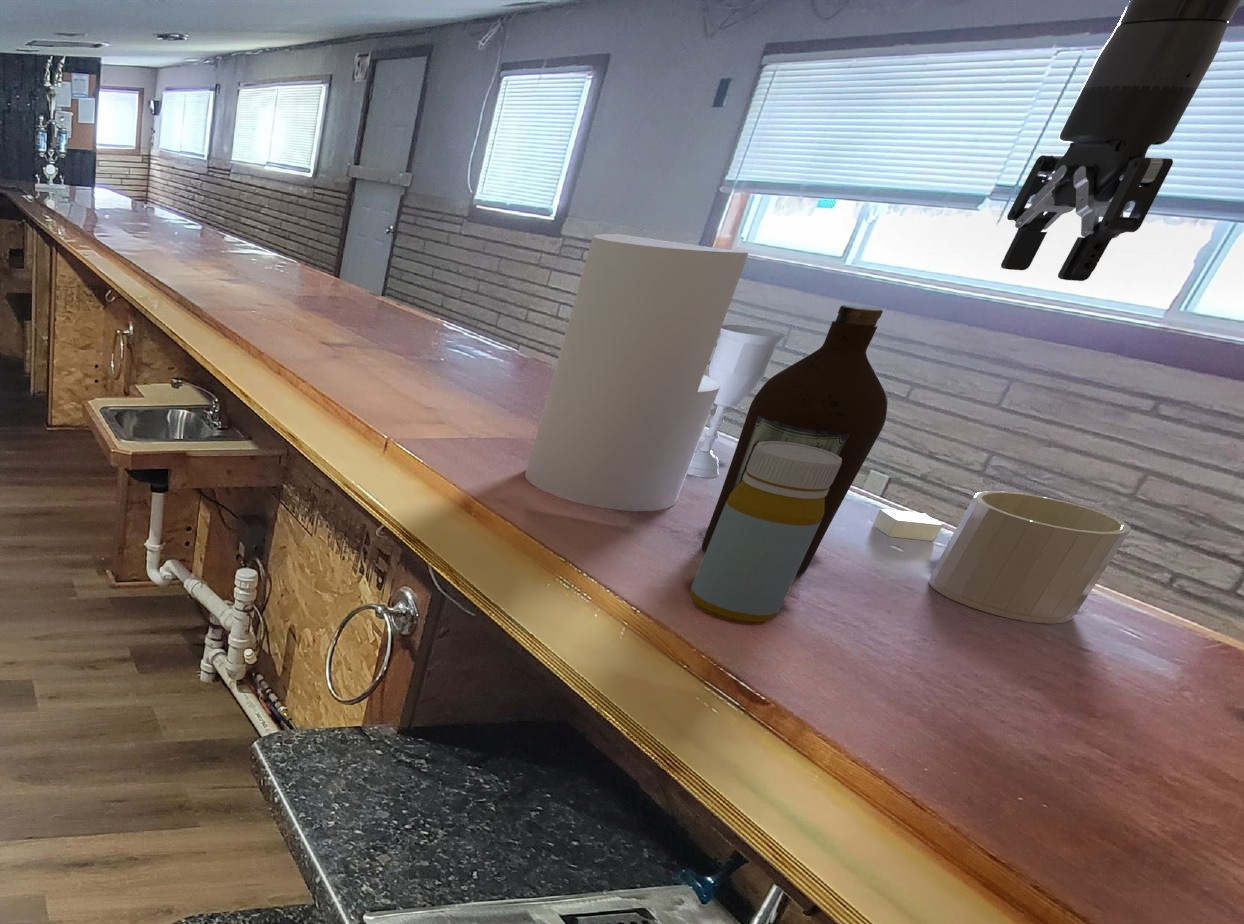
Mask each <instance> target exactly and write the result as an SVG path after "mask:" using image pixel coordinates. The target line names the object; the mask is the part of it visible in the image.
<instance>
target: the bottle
mask: <svg viewBox="0 0 1244 924" xmlns="http://www.w3.org/2000/svg"><path fill="white" fill-rule="evenodd" d="M841 461H842V458H841V457H839V456H838V455H836V454H834V453H832V452H829V451H826V450H823V449H819V448H816V447H812V446H807V445H802V444H796V443H789V442H779V441H765V442H760V443H758V444H757V445H756V446H755V448H754V450H753V453H752V455H751V457H750V460H749V462H748V465H747V470H746V471H745V473H744V475H743V480H742V481H741V482H740V483H739V485H738V486H737V487H736V488H735V489H734V490H733V491H732V492H731V493H730V495H729V497H728V500H727V501H726V504H725V506H724V509H723V511H722V513H721V516H720V518H719V521H718V523H717V526H716V528H715V531H714V533H713V535H712V538H711V540H710V543H709V545H708V548H707V550H706V553H704V555H703V558H702V560H701V562H700V565H699V568H698V570H697V571H696V575H695V577H694V580H693V582H692V585H691V589H690V590H689V593H688V594H689V597H690V600H691V601H692V604H693V605H694V606H695V607H696V608H697V609H698V610H699V611H701V612H703V613H704V614H706V615H709V616H711V617H714V618H716V619H719V620H722V621H725V622H728V623H735V624H737V625H747V626H748V625H749V626H755V625H762V624H765V623H767V622H770V621H772V620H774V619H775V618H776V617H777V616H778V614H779V611H780V610H781V608H782V606H783V604H784V601H785V600H786V597H787V595H788V593H789V592H790V589H791V586H792V585H793V582H794V580H795V578H796V577H797V576H796V574H797V572H798V569H799V567H800V565H801V563H802V561H803V559H804V557H805V555H806V552H807V550H808V548H809V546H810V544H811V542H812V540H813V538H814V535H815V533H816V531H817V529H818V527H819V525H820V523H821V520H822V517H823V515H824V504H825V496H826V495H827V493H828V491H829V487H830V485H831V484H832V483H833V481H834V479H835V477H836V474H837V472H838V470H839V468H840V466H841V464H842V462H841Z"/></svg>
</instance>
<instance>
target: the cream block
mask: <svg viewBox="0 0 1244 924" xmlns="http://www.w3.org/2000/svg"><path fill="white" fill-rule="evenodd" d="M872 526H873V527H874V528H875V529H877V530H879V531H880V532H882V533H883V534H884V535H886V536H888V537H889V538H899V539H908V540H918V541H928V542H935V541H936V539H937V537H938V535H939V533H940V532H941V530H942V528H943V526H944V524H942V523H941V522H939V521H938V520H936V519H934V518H932V517H931V516H930V515H928V514H926V513H924V512H923V513H922V512H912V511H905V510H904V511H903V510H892V509H885V508H884V509H883V508H880V509H879V511H878V513H877V515H876V517H875V518H874V521H873V522H872Z"/></svg>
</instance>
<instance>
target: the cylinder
mask: <svg viewBox="0 0 1244 924" xmlns="http://www.w3.org/2000/svg"><path fill="white" fill-rule="evenodd" d="M748 256H749V252H747V251H739V250H734V249H726V248H719V247H712V246H704V245H699V244H698V245H697V244H692V243H684V242H679V241H670V240H664V239H657V238H649V237H642V236H636V235H629V234H622V233H602V234H601V233H600V234H594V235H593V236H592V239H591V242H590V245H589V248H588V253H587V257H586V260H585V263H584V267H583V270H582V274H581V277H580V281H579V284H578V287H577V291H576V294H575V298H574V302H573V305H572V308H571V311H570V315H569V318H568V322H567V325H566V329H565V333H564V335H563V340H562V343H561V347H560V350H559V353H558V357H557V360H556V363H555V367H554V368H555V369H554V371H553V375H552V377H551V381H550V385H549V388H548V391H547V395H546V398H545V402H544V406H543V410H542V413H541V415H540V420H539V423H538V426H537V430H536V434H535V438H534V440H533V444H532V448H531V451H530V454H529V458H528V462H527V465H526V469H525V471H524V474H525V479H526V480H527V481H528V482H529V483H530V485H533V486H534V487H536V488H537V489H539V490H540V491H542V492H545V493H547V492H550V493H551V494H550V493H549V494H550V495H552V494H553V495H552V496H554V495H556V496H555V497H557V496H559V497H558V498H561V499H563V498H564V500H567V501H571V502H574V503H577V504H582V505H586V506H591V507H594V508H601V509H607V510H615V511H624V512H625V511H626V512H627V511H628V512H655V511H660V510H661V511H662V510H667V509H669V508H671V507H673V506H675V505H676V503H677V501H678V498H679V497H680V496H679V495H680V493H681V490H682V488H683V485H684V483H685V479H686V477H687V475H688V474H687V472H688V469H689V467H690V464H691V461H692V459H693V456H694V454H695V451H697V448H698V445H699V443H700V440H701V437H702V435H703V432H704V430H705V427H706V425H707V422H708V419H709V417H710V414H711V411H712V409H713V407H714V404H715V403H714V401H715V398H716V396H717V393H718V390H719V388H720V384H719V383H718V382H717V381H716V380H714V379H712V378H710V377H709V375H705V372H706V370H707V367H708V365H709V363H710V359H711V357H712V355H713V351H714V348H715V345H716V342H717V340H718V338H719V336H720V335H719V334H720V329H721V327H722V325H724V321H725V318H726V315H727V313H728V311H729V307H730V305H731V302H732V300H733V297H734V294H735V291H736V289H737V287H738V283H739V280H740V277H741V275H742V272H743V270H744V267H745V265H746V261H747V259H748Z"/></svg>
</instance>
